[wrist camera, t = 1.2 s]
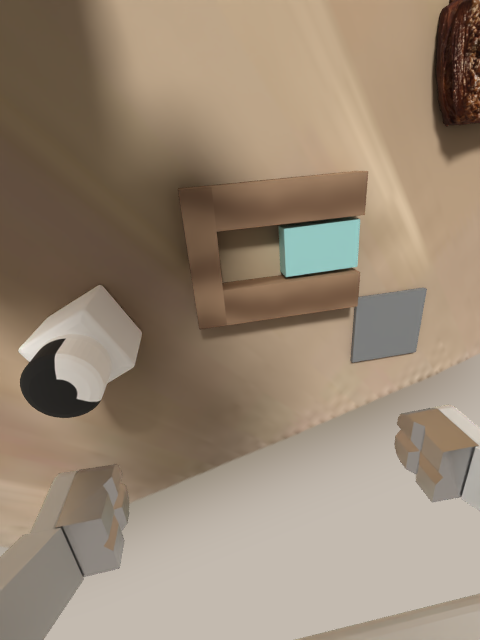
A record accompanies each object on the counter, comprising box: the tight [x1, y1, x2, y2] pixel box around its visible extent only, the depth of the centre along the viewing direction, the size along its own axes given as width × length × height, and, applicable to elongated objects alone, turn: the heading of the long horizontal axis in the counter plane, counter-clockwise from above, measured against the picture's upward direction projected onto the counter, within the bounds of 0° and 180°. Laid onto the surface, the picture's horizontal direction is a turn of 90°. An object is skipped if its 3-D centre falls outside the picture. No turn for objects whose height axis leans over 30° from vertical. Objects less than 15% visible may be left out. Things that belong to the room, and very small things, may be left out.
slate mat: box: [351, 288, 427, 363], centre depth 41 cm, size 9×9×1 cm
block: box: [279, 217, 360, 277], centre depth 35 cm, size 5×8×2 cm, turn 96°
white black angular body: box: [19, 285, 142, 418], centre depth 30 cm, size 7×7×12 cm
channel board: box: [178, 171, 368, 329], centre depth 34 cm, size 14×18×2 cm
